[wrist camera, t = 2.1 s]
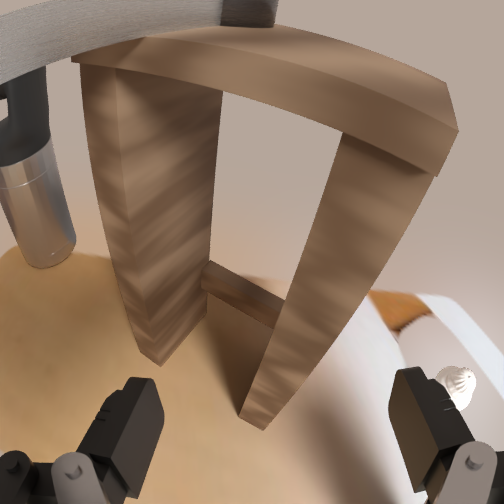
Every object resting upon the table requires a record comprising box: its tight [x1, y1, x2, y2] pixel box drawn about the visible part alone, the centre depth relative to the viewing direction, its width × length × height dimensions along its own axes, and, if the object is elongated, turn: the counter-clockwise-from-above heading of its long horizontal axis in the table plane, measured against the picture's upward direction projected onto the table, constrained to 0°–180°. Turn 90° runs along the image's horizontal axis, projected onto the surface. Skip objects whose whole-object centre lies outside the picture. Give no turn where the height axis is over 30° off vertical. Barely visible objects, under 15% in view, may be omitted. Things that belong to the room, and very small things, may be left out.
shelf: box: [71, 24, 459, 430], centre depth 23 cm, size 16×10×32 cm, turn 60°
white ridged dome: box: [435, 366, 476, 411], centre depth 31 cm, size 6×6×7 cm
